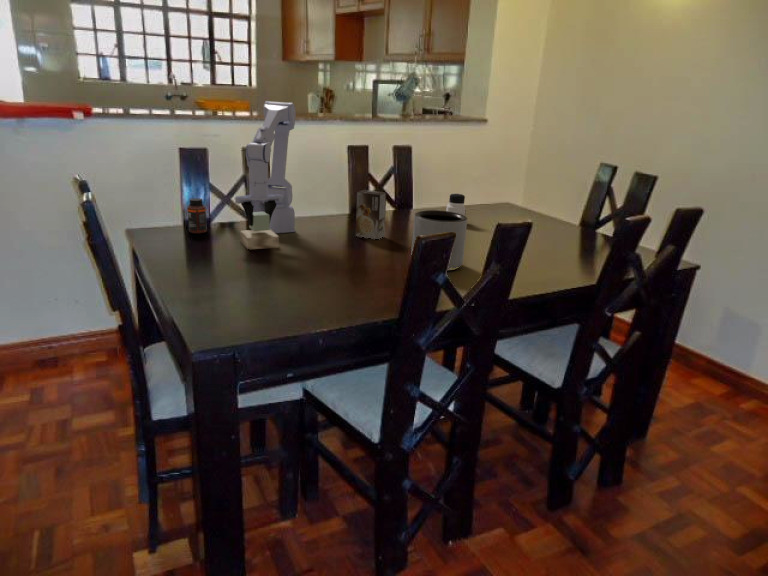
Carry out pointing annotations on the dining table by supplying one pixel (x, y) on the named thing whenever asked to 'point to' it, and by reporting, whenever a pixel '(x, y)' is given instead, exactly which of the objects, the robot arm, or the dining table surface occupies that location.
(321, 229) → the dining table surface
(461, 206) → the medicine bottle
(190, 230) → the supplement bottle
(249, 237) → the birch base
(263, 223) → the sage cube
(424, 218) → the planter
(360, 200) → the coffee box
